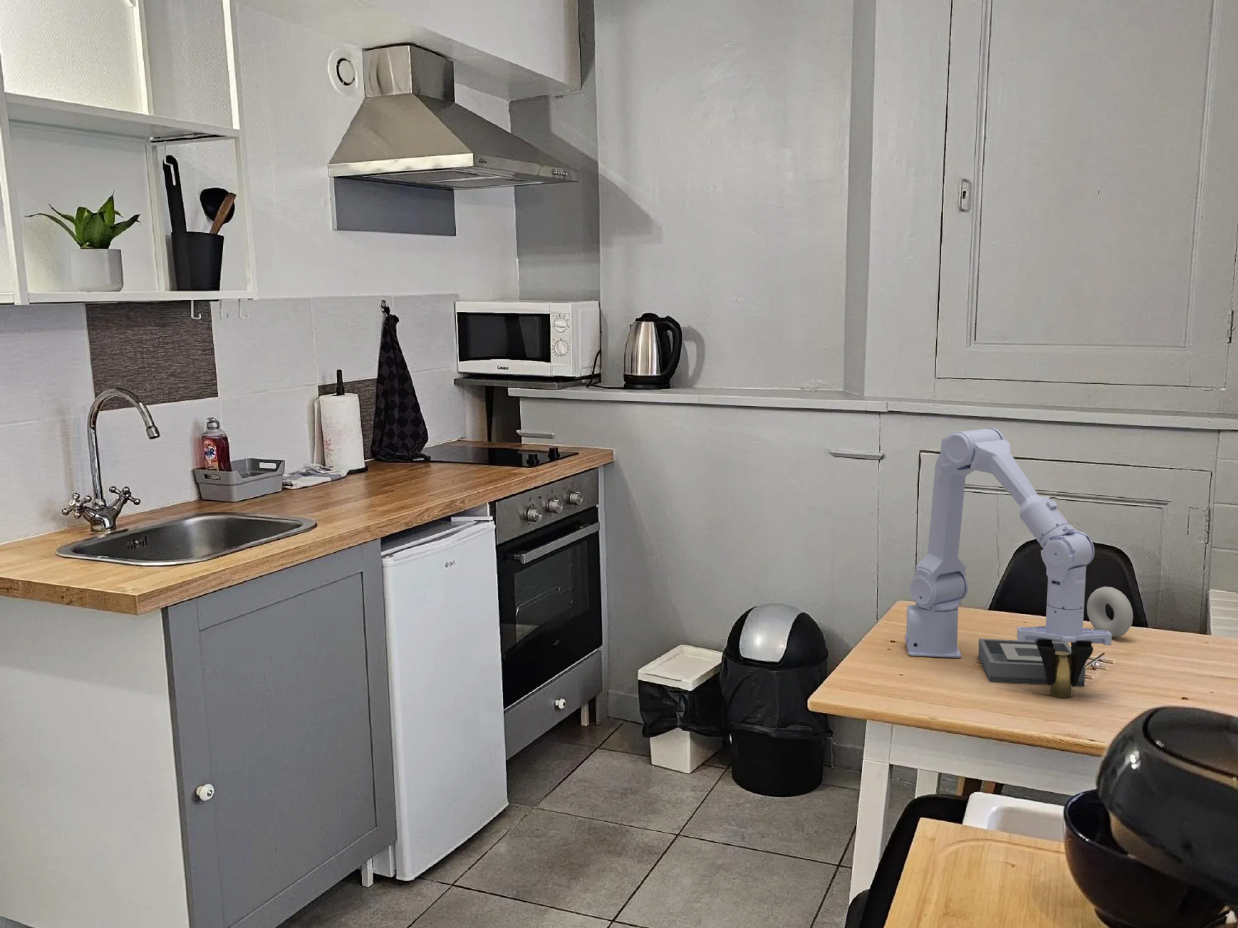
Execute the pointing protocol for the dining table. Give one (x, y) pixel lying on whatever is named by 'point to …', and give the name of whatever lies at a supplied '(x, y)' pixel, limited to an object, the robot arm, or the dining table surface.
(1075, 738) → the dining table surface
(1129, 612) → the donut
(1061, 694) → the connector
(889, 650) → the dining table surface
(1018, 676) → the box
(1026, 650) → the inlet
